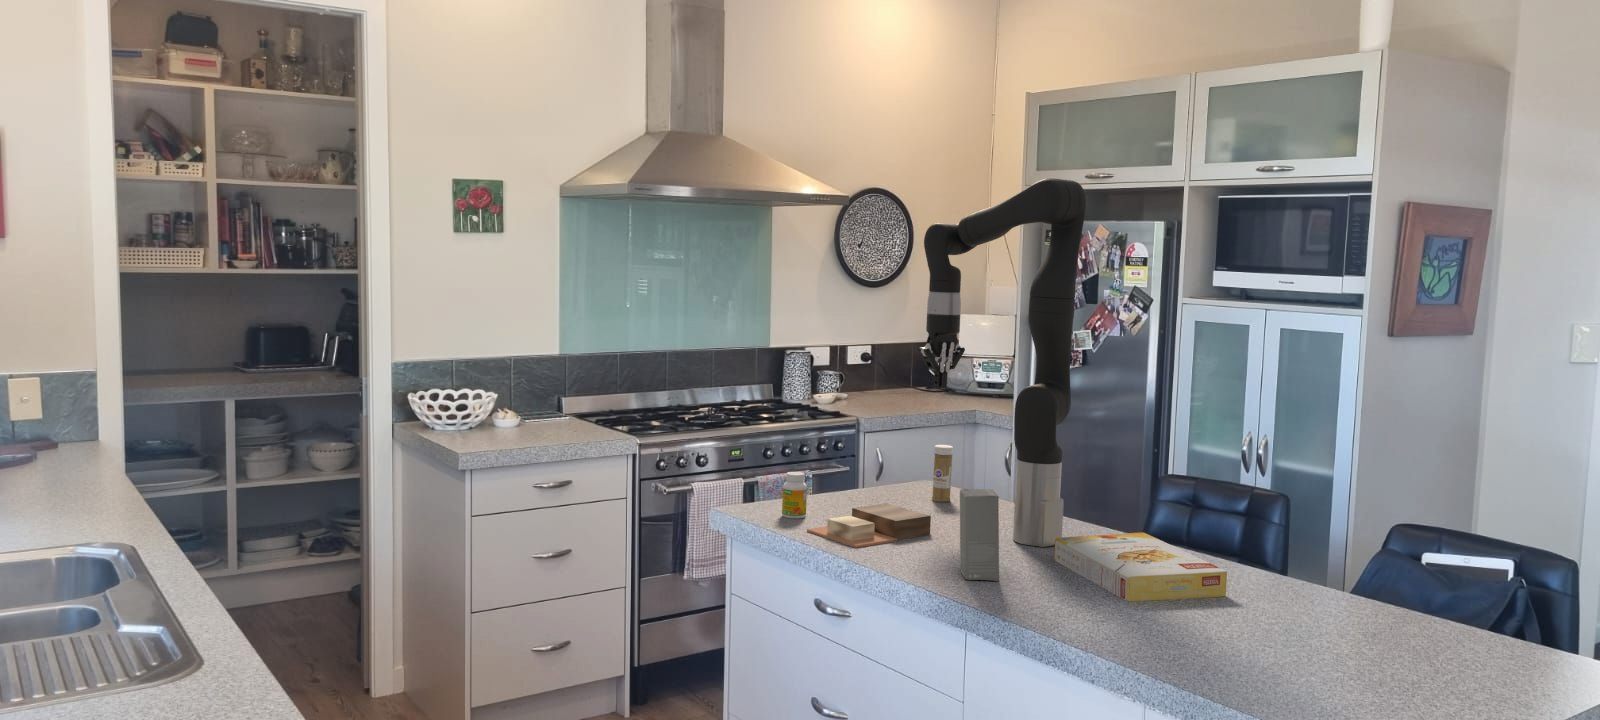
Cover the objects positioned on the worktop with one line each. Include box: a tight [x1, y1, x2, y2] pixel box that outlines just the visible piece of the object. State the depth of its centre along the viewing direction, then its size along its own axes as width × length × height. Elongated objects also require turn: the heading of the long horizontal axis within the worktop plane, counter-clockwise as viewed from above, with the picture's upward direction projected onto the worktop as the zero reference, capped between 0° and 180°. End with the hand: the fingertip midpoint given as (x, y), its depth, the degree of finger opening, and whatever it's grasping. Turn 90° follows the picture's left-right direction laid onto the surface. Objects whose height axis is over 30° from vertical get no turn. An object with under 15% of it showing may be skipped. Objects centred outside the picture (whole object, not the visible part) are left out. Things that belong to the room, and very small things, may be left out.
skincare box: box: [959, 488, 1000, 582], centre depth 219 cm, size 8×7×16 cm
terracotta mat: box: [806, 525, 897, 549], centre depth 246 cm, size 16×11×1 cm
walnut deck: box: [851, 502, 932, 540], centre depth 253 cm, size 14×10×4 cm
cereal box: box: [1053, 532, 1228, 602], centre depth 221 cm, size 20×6×28 cm
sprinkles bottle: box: [931, 444, 954, 503], centre depth 285 cm, size 5×5×14 cm
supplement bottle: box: [781, 471, 808, 520], centre depth 263 cm, size 5×5×10 cm
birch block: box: [827, 515, 875, 541], centre depth 245 cm, size 8×6×3 cm
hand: (940, 388), depth 268 cm, fingers closed
